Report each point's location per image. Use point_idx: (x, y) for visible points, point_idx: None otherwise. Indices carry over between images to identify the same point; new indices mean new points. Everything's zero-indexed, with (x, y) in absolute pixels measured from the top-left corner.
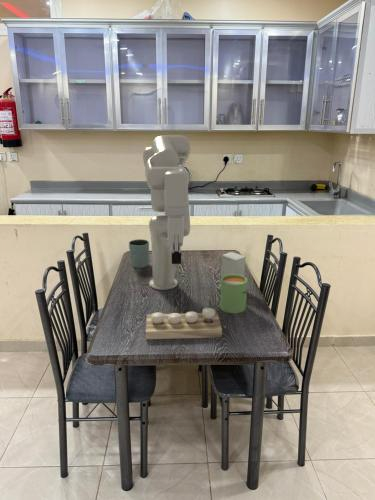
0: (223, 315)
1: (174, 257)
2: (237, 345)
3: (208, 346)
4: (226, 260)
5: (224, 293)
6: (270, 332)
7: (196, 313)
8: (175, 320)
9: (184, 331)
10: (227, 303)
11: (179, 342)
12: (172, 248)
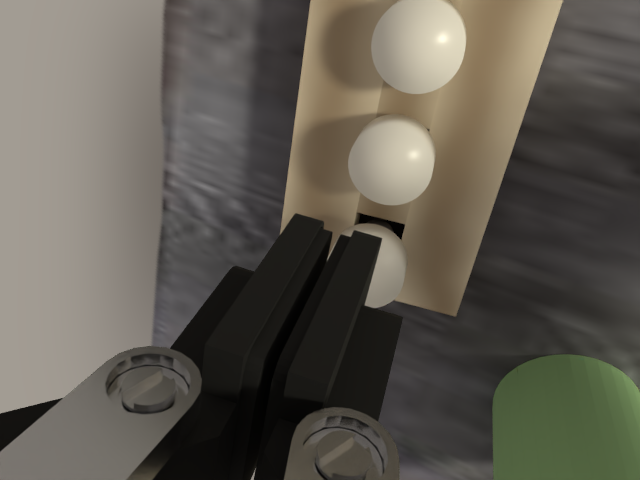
0: (494, 335)
1: (199, 320)
2: (215, 279)
3: (221, 161)
4: None
5: (553, 439)
6: None
7: (394, 199)
8: (372, 40)
9: (301, 74)
10: (523, 402)
11: (278, 23)
12: (4, 454)
